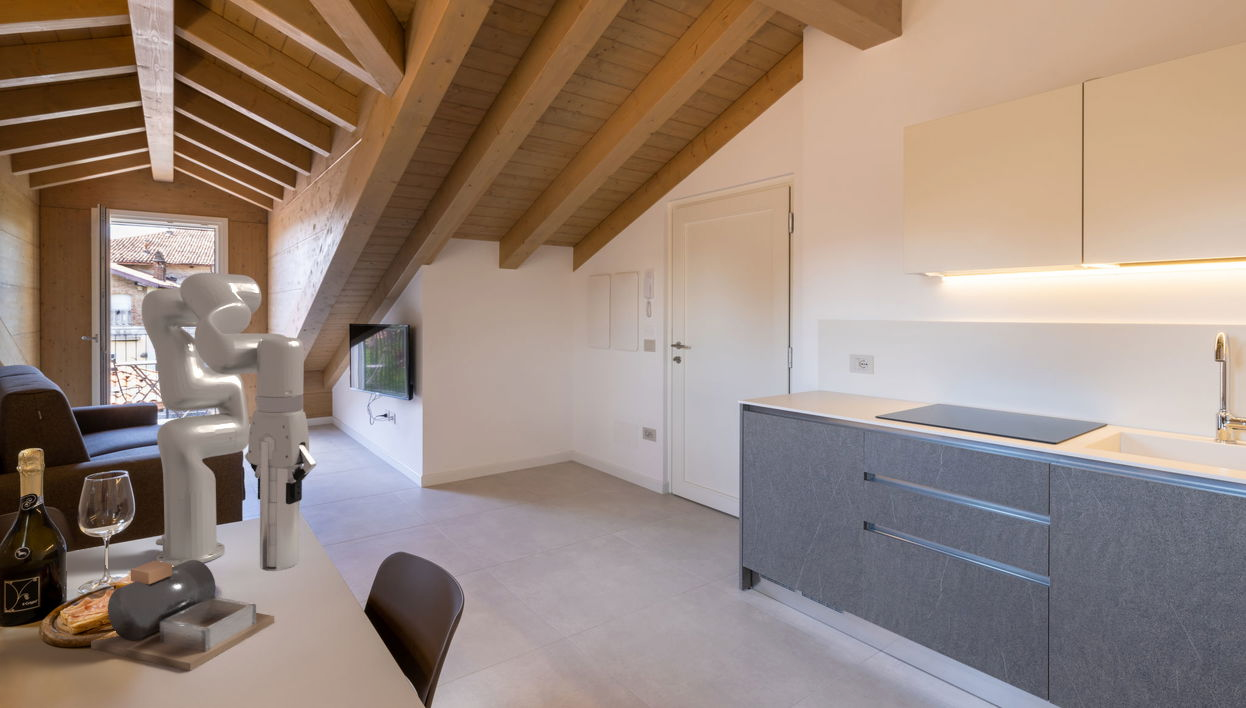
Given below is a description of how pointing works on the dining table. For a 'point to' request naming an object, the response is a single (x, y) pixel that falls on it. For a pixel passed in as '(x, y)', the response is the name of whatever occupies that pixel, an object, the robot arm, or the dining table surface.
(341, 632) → the dining table surface
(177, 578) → the motor mount
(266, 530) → the silver tall cylinder
